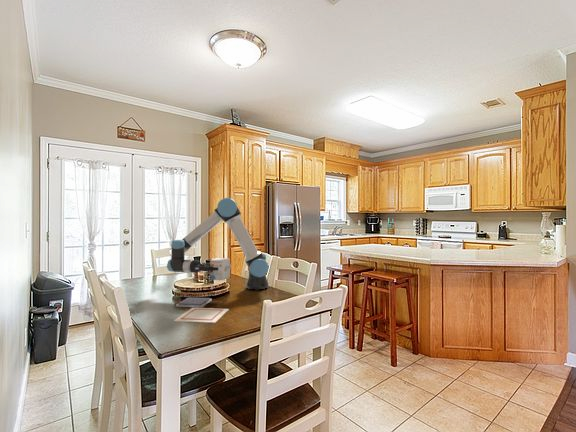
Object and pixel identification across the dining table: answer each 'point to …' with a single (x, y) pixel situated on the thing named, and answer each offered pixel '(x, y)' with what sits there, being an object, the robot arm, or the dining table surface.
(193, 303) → the ink pad
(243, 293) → the dining table surface
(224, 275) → the ink box
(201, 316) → the marked sheet
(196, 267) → the robot arm
